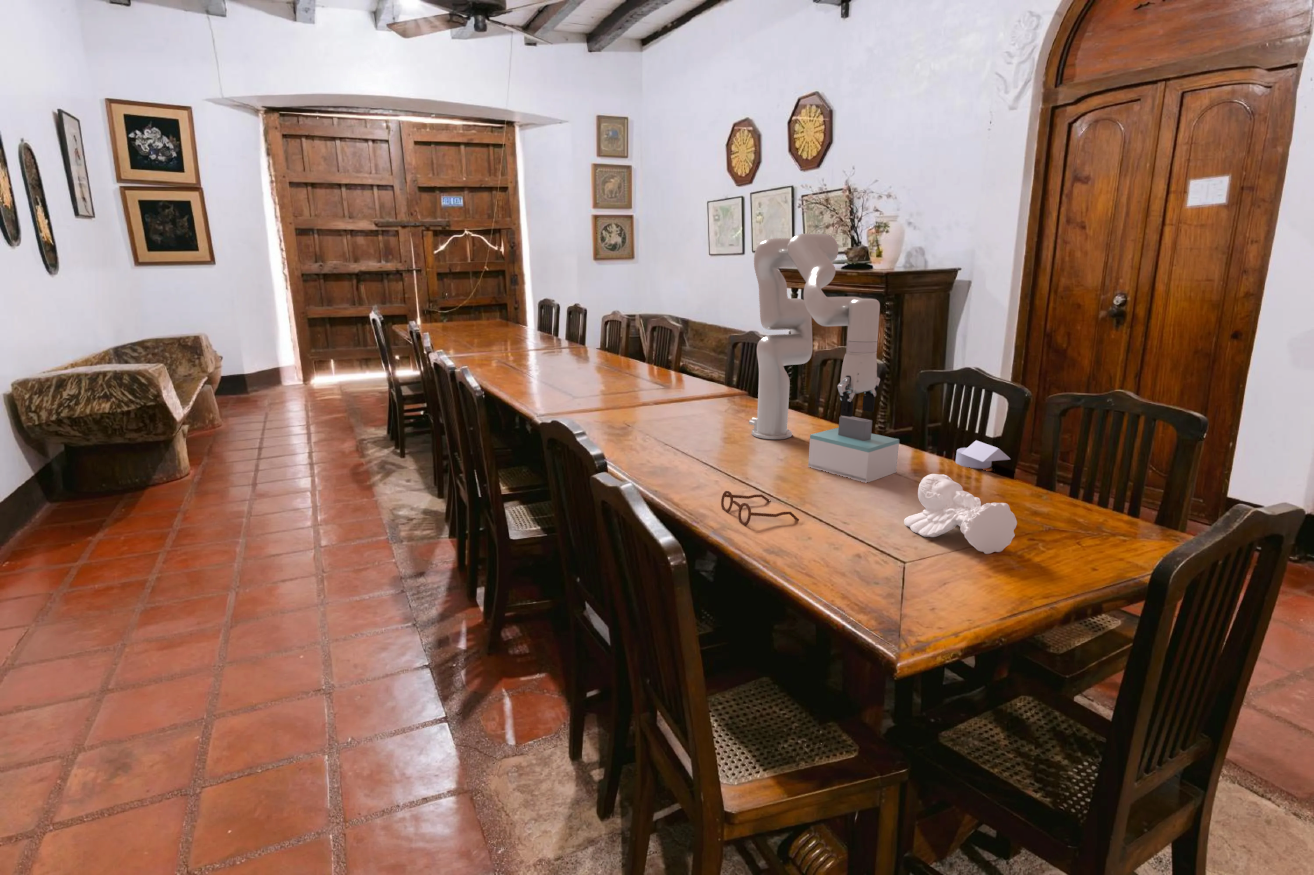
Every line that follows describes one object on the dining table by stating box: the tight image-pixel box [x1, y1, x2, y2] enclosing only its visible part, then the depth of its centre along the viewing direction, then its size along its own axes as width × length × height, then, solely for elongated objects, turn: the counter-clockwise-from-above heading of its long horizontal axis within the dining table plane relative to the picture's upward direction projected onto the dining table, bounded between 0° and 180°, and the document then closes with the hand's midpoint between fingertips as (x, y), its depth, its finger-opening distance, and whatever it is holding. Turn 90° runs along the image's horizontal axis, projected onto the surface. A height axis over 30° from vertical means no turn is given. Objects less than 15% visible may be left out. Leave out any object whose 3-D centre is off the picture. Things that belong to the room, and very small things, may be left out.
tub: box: [807, 437, 900, 484], centre depth 188 cm, size 18×14×8 cm
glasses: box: [720, 490, 799, 526], centre depth 157 cm, size 13×13×5 cm
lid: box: [809, 415, 900, 453], centre depth 186 cm, size 18×14×6 cm
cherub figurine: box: [903, 473, 1018, 555], centre depth 143 cm, size 13×12×20 cm
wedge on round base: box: [955, 439, 1011, 469], centre depth 193 cm, size 9×7×13 cm
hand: (857, 413), depth 185 cm, fingers open, 9 cm apart
